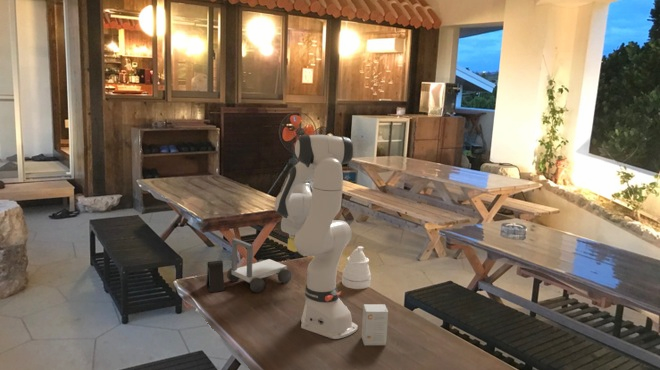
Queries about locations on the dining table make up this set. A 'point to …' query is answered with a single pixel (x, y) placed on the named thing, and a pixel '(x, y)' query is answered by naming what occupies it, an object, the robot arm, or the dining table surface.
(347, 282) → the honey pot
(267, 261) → the flatbed trolley
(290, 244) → the tall gold block
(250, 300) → the dining table surface
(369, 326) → the small box
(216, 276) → the phone stand
